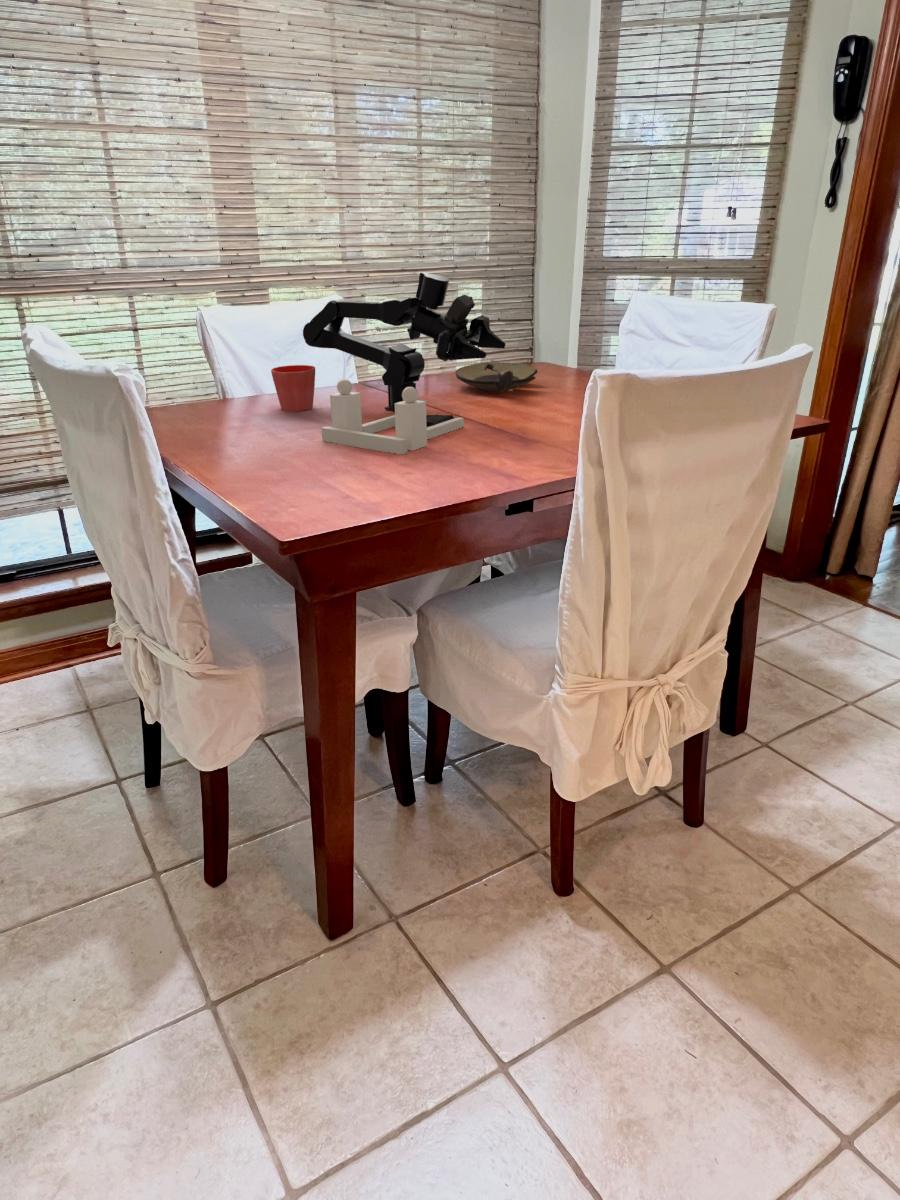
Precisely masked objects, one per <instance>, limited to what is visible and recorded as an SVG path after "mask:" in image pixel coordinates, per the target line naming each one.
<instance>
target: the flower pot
mask: <svg viewBox="0 0 900 1200" xmlns="http://www.w3.org/2000/svg"><path fill="white" fill-rule="evenodd" d="M270 373H271V377H272V380H273V385H274V387H275V391H276V395H277V399H278V402H279V407H280V409H281V410H282V411H284V412H302V411H307V410H311V409H313V407H314V399H315V398H314V397H315V385H316V384H315V383H316V366H314V365H309V364H307V365H306V364H295V365H294V364H293V365H282V366H276V367H273V368H271V370H270Z"/></svg>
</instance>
